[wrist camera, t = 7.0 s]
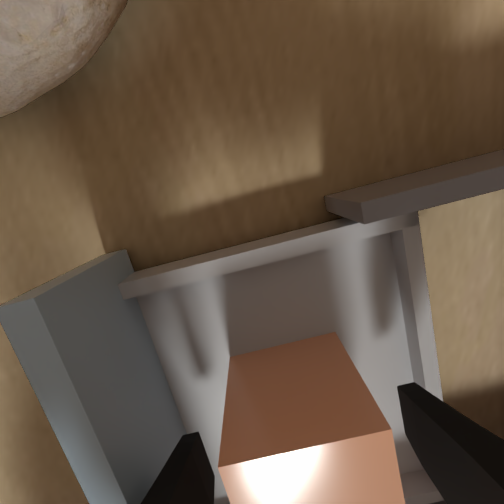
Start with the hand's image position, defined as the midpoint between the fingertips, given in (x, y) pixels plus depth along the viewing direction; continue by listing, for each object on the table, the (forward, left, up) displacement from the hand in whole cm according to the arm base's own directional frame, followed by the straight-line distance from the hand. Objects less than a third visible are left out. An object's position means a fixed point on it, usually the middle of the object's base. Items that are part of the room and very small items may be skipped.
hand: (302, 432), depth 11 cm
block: (0, 0, -2) cm, 2 cm away
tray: (+1, 0, -3) cm, 3 cm away
